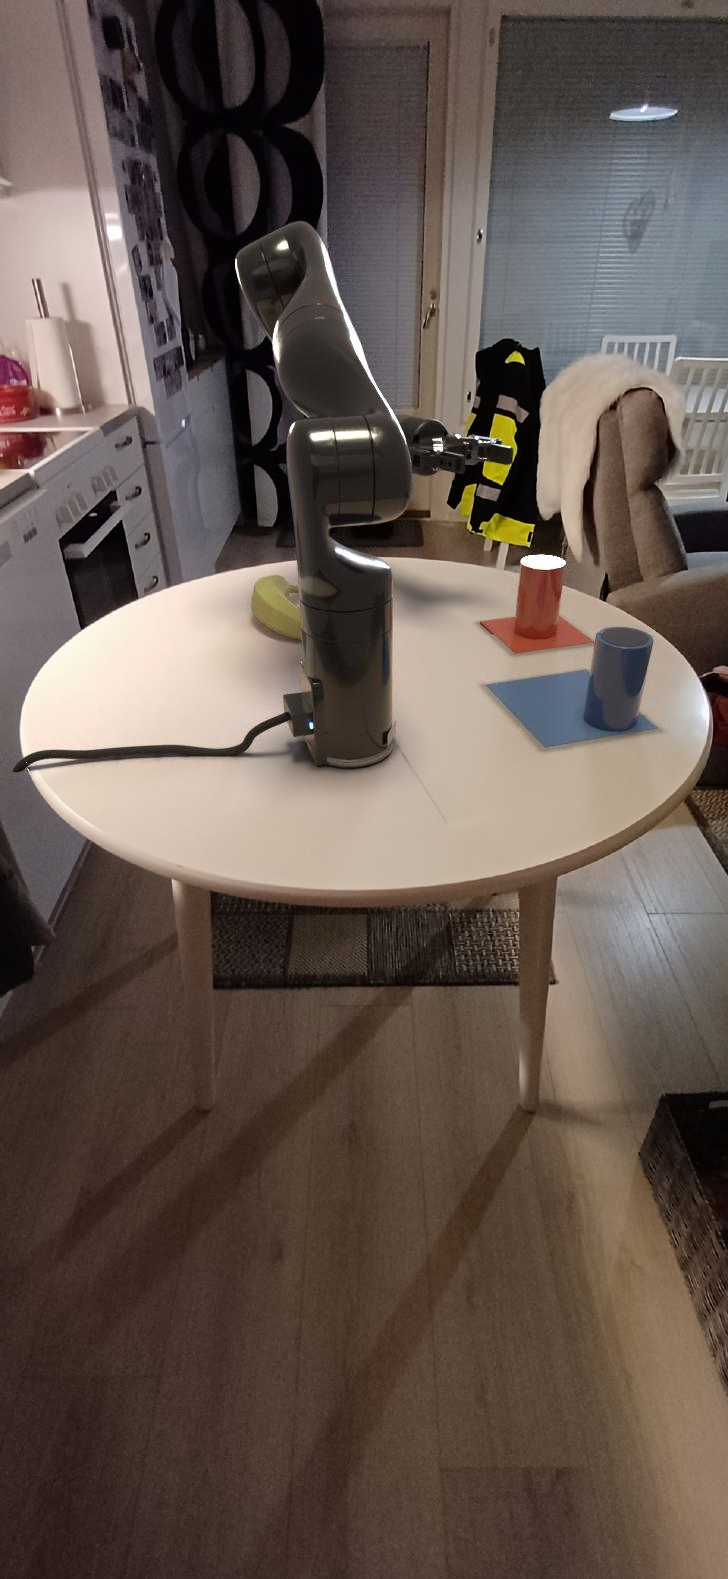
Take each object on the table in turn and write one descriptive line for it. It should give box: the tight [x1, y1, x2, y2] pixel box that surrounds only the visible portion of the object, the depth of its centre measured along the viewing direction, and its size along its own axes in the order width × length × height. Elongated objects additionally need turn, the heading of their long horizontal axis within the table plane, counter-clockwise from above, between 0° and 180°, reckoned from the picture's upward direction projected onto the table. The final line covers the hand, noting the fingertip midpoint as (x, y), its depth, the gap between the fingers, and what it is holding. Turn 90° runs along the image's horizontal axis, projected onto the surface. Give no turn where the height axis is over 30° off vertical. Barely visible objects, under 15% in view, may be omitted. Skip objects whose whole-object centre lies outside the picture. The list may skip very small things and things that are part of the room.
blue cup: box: [583, 626, 655, 731], centre depth 86 cm, size 6×6×10 cm
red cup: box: [514, 554, 566, 639], centre depth 108 cm, size 6×6×10 cm
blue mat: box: [485, 669, 658, 748], centre depth 92 cm, size 14×16×1 cm
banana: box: [250, 574, 302, 641], centre depth 117 cm, size 14×6×20 cm
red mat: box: [479, 615, 595, 654], centre depth 111 cm, size 12×12×1 cm
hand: (487, 460), depth 102 cm, fingers open, 8 cm apart
